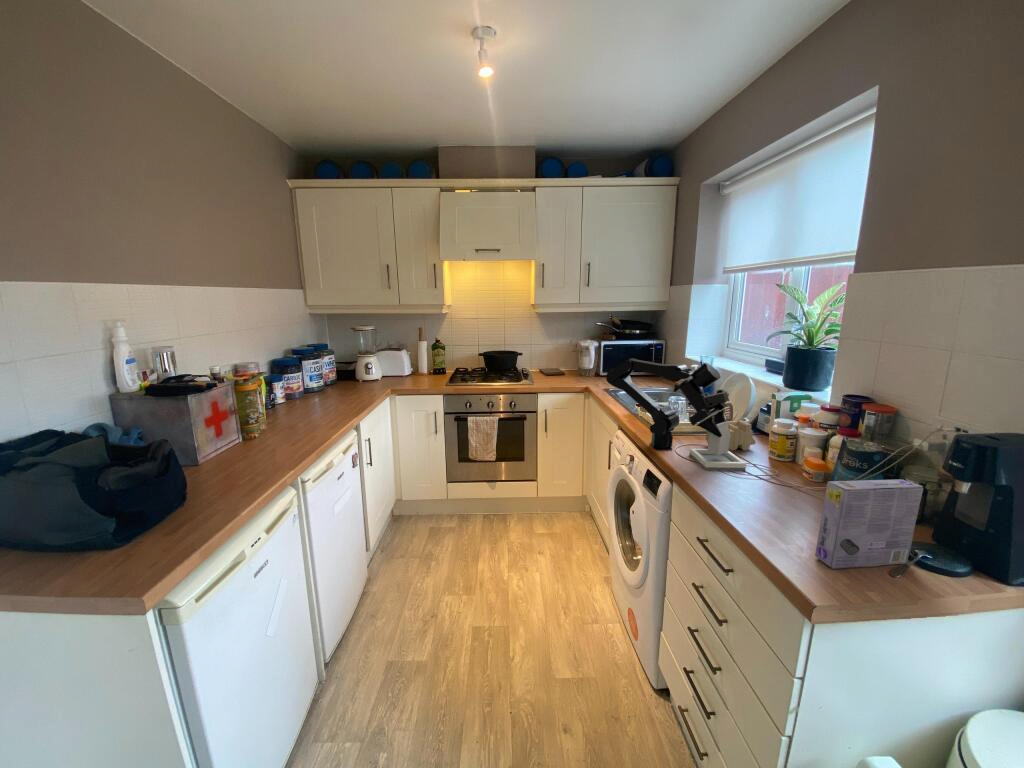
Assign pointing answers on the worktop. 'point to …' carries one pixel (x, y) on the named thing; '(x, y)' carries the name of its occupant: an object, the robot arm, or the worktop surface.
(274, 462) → the worktop surface
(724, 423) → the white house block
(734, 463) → the tray
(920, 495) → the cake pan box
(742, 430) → the toy train
